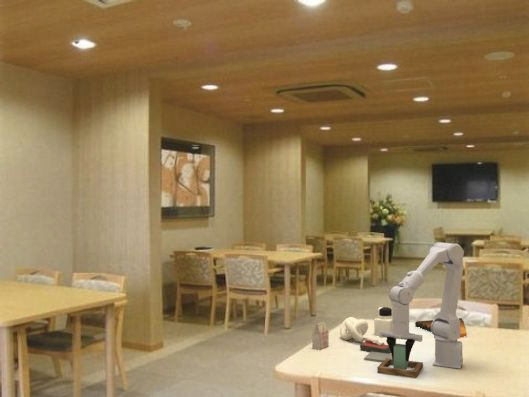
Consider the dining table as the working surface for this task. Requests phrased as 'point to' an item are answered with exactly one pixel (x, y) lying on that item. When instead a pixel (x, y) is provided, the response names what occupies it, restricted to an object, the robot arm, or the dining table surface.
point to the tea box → (320, 337)
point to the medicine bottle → (383, 320)
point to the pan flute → (427, 324)
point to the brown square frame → (413, 373)
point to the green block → (400, 356)
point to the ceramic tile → (377, 356)
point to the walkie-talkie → (373, 346)
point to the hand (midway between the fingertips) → (400, 359)
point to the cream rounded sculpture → (353, 329)
